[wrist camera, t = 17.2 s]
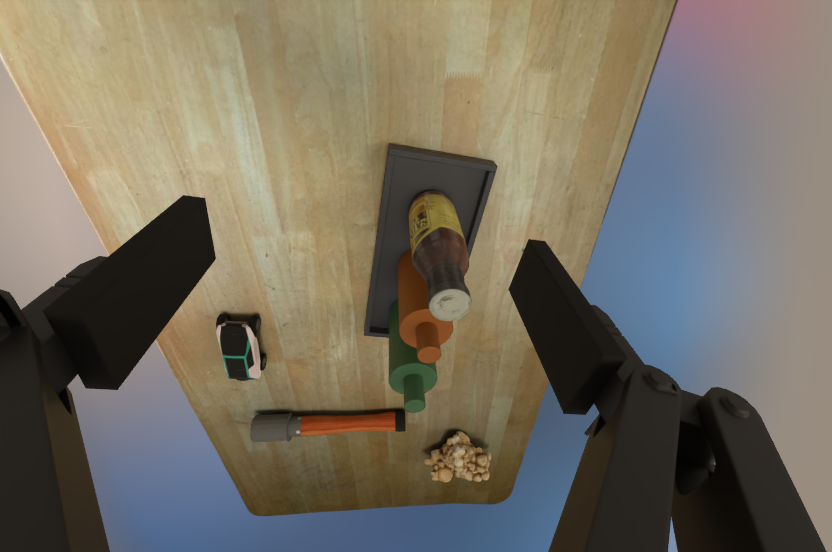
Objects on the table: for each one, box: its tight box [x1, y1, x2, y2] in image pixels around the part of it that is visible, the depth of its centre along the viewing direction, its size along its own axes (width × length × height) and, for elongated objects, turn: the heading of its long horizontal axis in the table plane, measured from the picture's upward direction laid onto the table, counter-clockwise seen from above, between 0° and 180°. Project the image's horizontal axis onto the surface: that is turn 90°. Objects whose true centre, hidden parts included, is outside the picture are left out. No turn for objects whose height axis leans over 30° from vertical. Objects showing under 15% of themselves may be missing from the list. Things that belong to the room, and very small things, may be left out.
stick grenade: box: [250, 410, 405, 442], centre depth 72 cm, size 5×5×30 cm
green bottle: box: [389, 300, 437, 413], centre depth 51 cm, size 6×6×18 cm
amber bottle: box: [397, 250, 453, 363], centre depth 46 cm, size 6×6×18 cm
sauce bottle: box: [409, 191, 472, 321], centre depth 40 cm, size 6×6×20 cm
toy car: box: [216, 314, 267, 381], centre depth 58 cm, size 6×12×5 cm, turn 173°
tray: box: [364, 143, 497, 338], centre depth 52 cm, size 31×14×2 cm, turn 170°
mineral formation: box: [425, 431, 491, 482], centre depth 81 cm, size 8×13×15 cm
